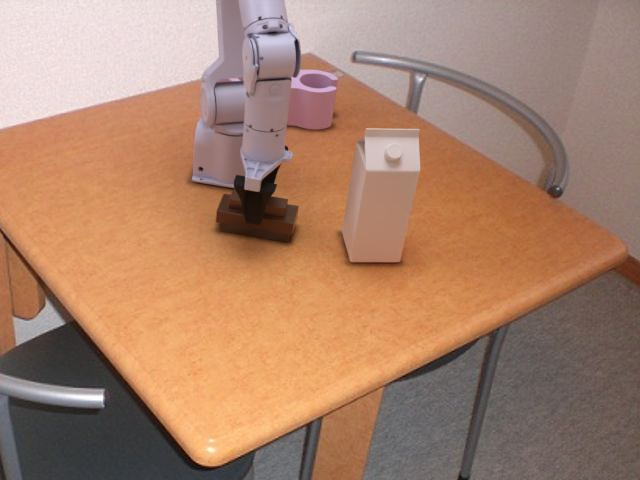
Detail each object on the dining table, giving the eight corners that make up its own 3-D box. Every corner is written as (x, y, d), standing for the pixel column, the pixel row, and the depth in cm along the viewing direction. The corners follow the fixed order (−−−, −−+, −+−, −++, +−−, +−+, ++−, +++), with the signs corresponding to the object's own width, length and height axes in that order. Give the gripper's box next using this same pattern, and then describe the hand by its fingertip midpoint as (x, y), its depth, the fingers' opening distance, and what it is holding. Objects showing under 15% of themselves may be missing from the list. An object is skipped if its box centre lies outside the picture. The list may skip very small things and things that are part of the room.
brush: (215, 231, 126) (217, 201, 123) (222, 213, 130) (224, 183, 127) (291, 244, 125) (294, 214, 122) (296, 225, 129) (300, 196, 125)
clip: (334, 103, 158) (340, 67, 154) (329, 137, 149) (334, 100, 144) (225, 89, 160) (226, 53, 155) (212, 122, 150) (214, 84, 146)
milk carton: (341, 233, 128) (360, 115, 116) (389, 233, 129) (413, 115, 116) (349, 263, 122) (371, 142, 110) (399, 263, 123) (426, 143, 111)
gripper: (286, 153, 110) (277, 241, 119) (303, 101, 121) (294, 185, 130) (231, 144, 111) (226, 232, 120) (253, 93, 122) (247, 177, 131)
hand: (258, 207), depth 125 cm, fingers open, 7 cm apart
